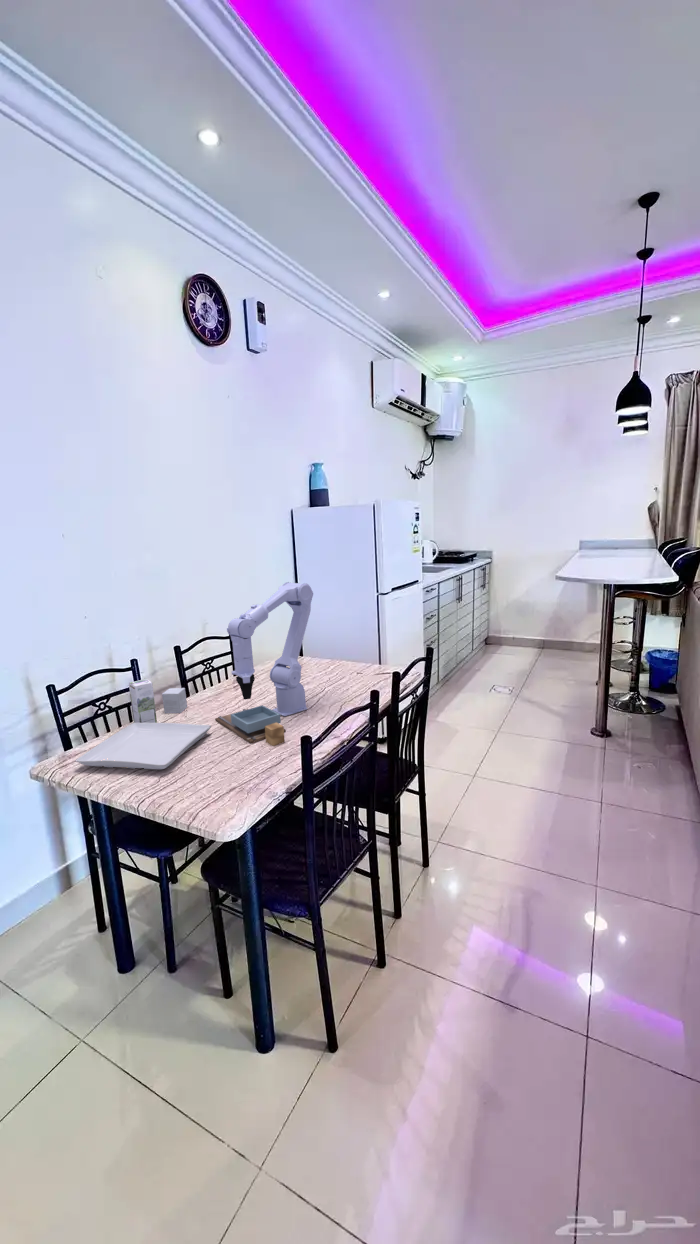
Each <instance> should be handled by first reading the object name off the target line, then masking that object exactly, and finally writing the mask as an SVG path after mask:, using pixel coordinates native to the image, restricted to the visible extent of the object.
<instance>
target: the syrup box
mask: <svg viewBox="0 0 700 1244" xmlns="http://www.w3.org/2000/svg"><path fill="white" fill-rule="evenodd" d="M128 687H129V688H128V689H129V696H130V703H131V709H132V710H131V711H132V718H133V719H132V720H133V723H158V721H157V713H156V712H157V711H156V705H155V697H154V696H155V695H154V687H153V682H152V681H151V680H149V679H147V678H144V679H140V680H136V681H132V682H128Z"/></svg>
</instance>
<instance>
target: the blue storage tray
mask: <svg viewBox="0 0 700 1244" xmlns="http://www.w3.org/2000/svg"><path fill="white" fill-rule="evenodd" d="M247 709H248V710H244V711H243V710H240V711H241V712H239V711H236V712H237V713H236V712H233V713H234V714H232V713H230V714H231V723H232V724H234V725H235V727H236V728H237V727H239V728H240V729H242V730H244V731H245V732H246V733H247V735H249V734H251V732H254V731H257V730H260V729H263V728H265V726H267V725H270V724H273V723H276V722H277V723H278V724H281V723H282V718H281V715H280V714H279V713H277V712H275V711H273V710H272V709H271V708H269V707H267V706H265V705H262V704H261V705H259V706H256V707H251V708H247Z"/></svg>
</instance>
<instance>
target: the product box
mask: <svg viewBox="0 0 700 1244" xmlns="http://www.w3.org/2000/svg"><path fill="white" fill-rule="evenodd" d="M186 693H187V692H186V688H185V687H175V688H174V687H169V688H168V689H166V690H165V691H163V692H162V693H161V697H162V705H163V712H164V714H181V713H182V712H184V710H186V709H187V708H188V703H187V702H188V701H187V694H186Z"/></svg>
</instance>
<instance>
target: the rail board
mask: <svg viewBox="0 0 700 1244" xmlns="http://www.w3.org/2000/svg"><path fill="white" fill-rule="evenodd" d="M248 709H249V708H247V709H245V708H244V709H242V710H240V711H236V712H233V713H229V714H226V715H223V716H221V715H218V716H217V717H216V718H214V720H215V722H217V723H218V724H219V725H220V726H222V727H224V728H225V729H227V730H229V731H230V732H232V733H233V734H235V735H236V736H238V737H239V738H241V739H242V740H244V741H245V742H247V743H249V744H250V745H252V744H255V743H257V742H260V741H263V740H266V736H265V728H263V729H260V730H257V731H254V732H251V734H249V735H247V733H246V732H245V731H244V730H242V729H240V728H239V727H237V728H236V727H235V725H234V724H232V723H231V714H234V713H237V712H241V711H244V710H248ZM286 732H287V731H286V729H285V728H284V734H285V733H286Z"/></svg>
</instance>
